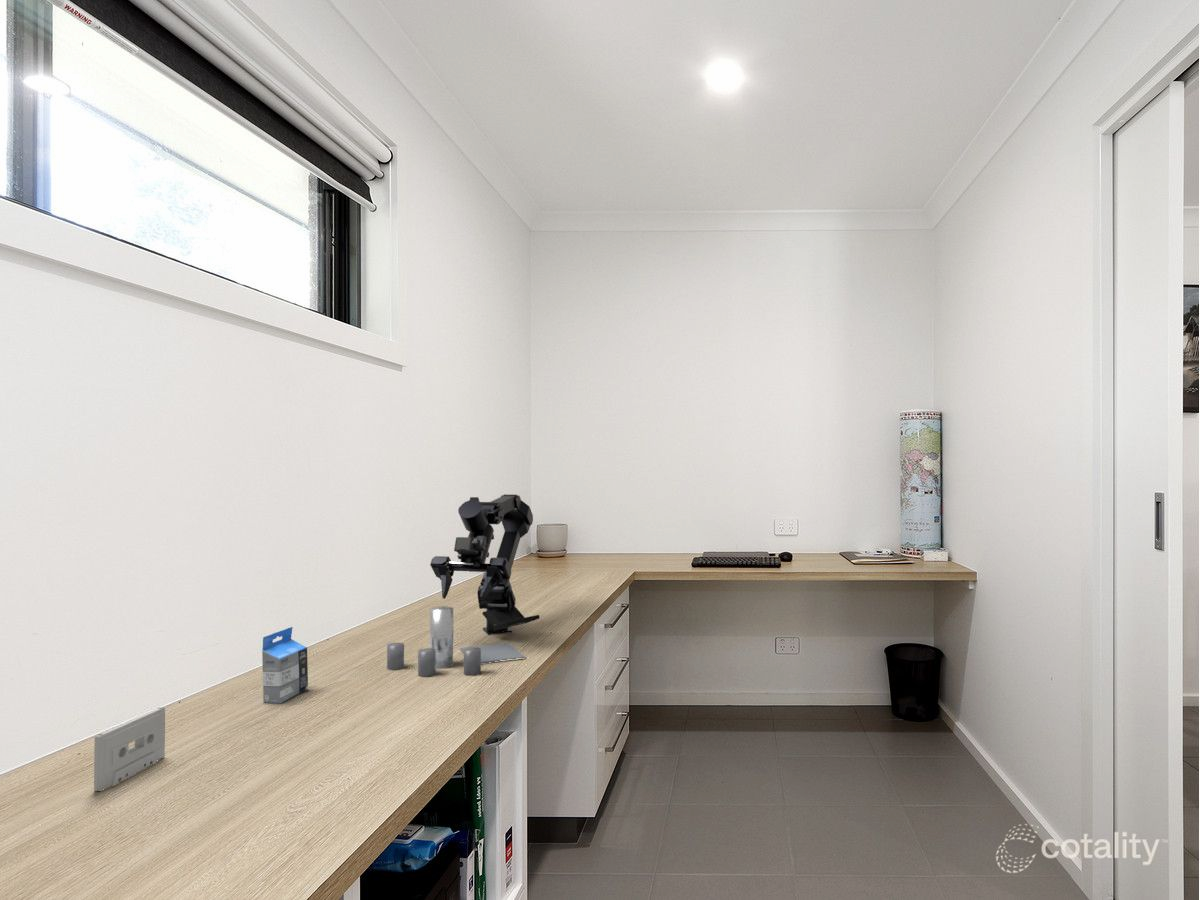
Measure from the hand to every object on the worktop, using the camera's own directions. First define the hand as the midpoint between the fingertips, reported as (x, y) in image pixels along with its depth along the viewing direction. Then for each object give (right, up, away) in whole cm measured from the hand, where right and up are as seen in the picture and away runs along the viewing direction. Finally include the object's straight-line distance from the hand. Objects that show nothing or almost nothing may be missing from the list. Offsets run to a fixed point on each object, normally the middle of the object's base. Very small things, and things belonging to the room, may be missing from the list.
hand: (462, 598), depth 167 cm
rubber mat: (+7, -13, +1) cm, 15 cm away
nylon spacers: (-4, -13, -13) cm, 19 cm away
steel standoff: (-3, -13, -8) cm, 16 cm away
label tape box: (-28, -13, -29) cm, 43 cm away
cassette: (-36, -13, -63) cm, 74 cm away
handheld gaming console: (+10, -11, +18) cm, 23 cm away
